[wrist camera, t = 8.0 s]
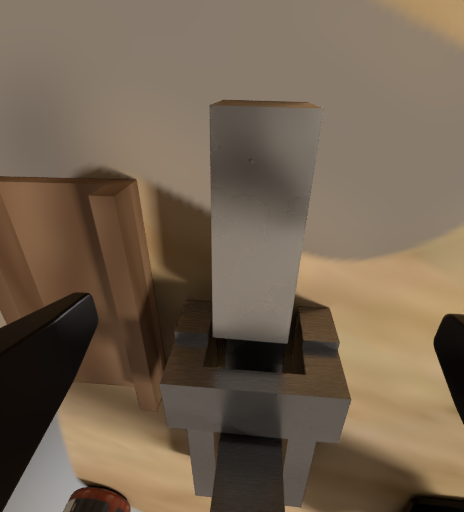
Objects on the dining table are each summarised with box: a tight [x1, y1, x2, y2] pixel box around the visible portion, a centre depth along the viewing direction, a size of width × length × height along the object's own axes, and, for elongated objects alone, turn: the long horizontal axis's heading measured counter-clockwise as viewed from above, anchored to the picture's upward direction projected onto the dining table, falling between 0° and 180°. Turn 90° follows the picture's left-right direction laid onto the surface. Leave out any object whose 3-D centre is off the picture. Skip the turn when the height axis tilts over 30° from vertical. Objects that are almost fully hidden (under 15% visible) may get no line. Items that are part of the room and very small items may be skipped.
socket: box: [160, 300, 351, 507], centre depth 18 cm, size 8×16×5 cm, turn 0°
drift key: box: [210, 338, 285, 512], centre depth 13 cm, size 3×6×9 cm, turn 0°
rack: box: [0, 176, 166, 412], centre depth 16 cm, size 7×13×2 cm, turn 0°
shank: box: [210, 100, 324, 344], centre depth 12 cm, size 3×9×4 cm, turn 179°
